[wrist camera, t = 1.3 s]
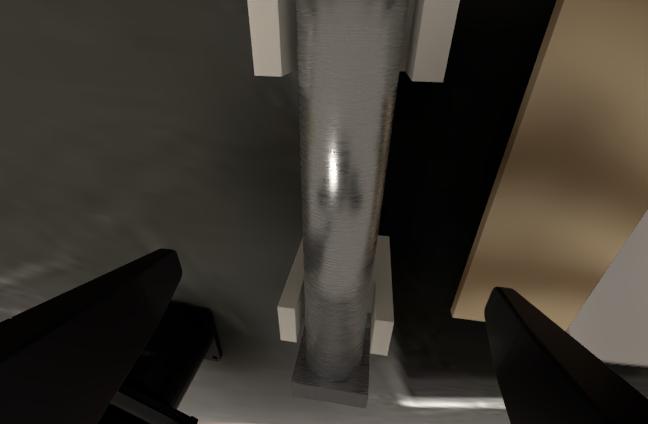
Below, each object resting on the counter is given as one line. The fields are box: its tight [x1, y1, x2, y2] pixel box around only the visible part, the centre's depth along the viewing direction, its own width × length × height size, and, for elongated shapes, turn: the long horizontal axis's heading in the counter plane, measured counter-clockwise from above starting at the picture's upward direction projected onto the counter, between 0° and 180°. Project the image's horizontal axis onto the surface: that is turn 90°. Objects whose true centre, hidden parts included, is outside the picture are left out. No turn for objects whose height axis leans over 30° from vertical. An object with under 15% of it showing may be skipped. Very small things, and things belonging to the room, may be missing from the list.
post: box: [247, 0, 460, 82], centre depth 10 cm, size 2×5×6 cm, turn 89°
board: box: [451, 0, 648, 331], centre depth 14 cm, size 21×7×1 cm, turn 179°
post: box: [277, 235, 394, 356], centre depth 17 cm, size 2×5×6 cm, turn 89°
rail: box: [291, 0, 409, 408], centre depth 11 cm, size 20×4×4 cm, turn 179°
